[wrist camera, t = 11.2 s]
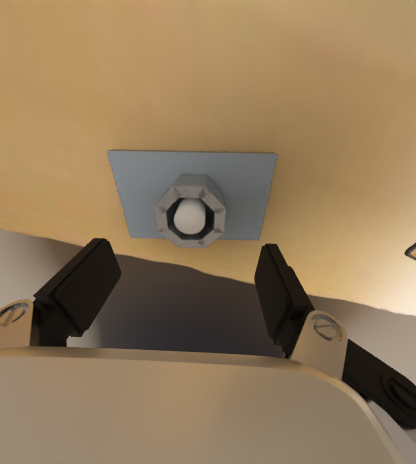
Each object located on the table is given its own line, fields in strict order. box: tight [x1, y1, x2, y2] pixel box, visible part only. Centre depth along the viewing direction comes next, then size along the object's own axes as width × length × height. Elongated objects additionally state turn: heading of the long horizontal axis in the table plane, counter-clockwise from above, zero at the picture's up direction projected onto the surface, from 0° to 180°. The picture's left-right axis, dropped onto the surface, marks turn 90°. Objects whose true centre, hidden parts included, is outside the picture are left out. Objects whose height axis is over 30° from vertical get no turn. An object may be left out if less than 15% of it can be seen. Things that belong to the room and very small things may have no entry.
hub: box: [154, 173, 226, 248], centre depth 18 cm, size 7×7×5 cm
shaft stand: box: [107, 150, 278, 240], centre depth 19 cm, size 18×11×6 cm, turn 89°
